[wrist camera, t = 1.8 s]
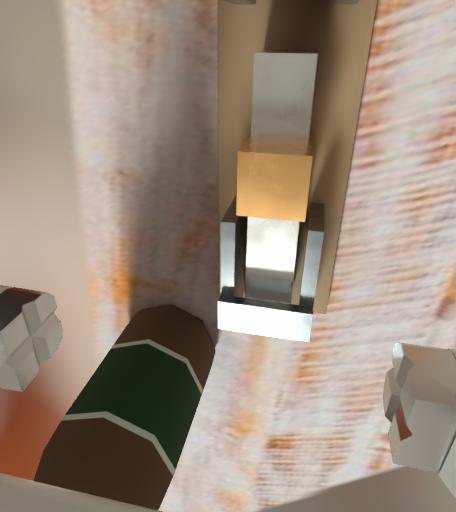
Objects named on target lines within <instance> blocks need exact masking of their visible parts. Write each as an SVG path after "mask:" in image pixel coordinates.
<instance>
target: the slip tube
mask: <svg viewBox="0 0 456 512" xmlns="http://www.w3.org/2000/svg"><path fill="white" fill-rule="evenodd" d="M318 53H319V52H303V51H259V52H254V65H253V92H252V119H251V135H250V136H249V138H248V139H247V140H246V141H245V143H244V144H243V145H242V147H241V148H240V149H239V150H238V161H237V207H236V216H247V217H248V226H247V253H246V280H245V298H250V299H257V300H264V301H272V302H279V303H287V304H291V299H292V291H293V283H294V274H295V265H296V256H297V246H298V237H299V228H300V222H305V219H306V210H307V202H308V193H309V184H310V176H311V167H312V158H313V150H314V141H315V135H314V134H310V127H311V117H312V108H313V99H314V90H315V81H316V71H317V62H318Z"/></svg>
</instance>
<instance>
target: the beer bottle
mask: <svg viewBox="0 0 456 512" xmlns="http://www.w3.org/2000/svg"><path fill="white" fill-rule="evenodd" d="M214 355H215V348H214V345H213V343H212V341H211V339H210V337H209V334H208V332H207V330H206V328H205V326H204V324H203V321H202V320H200V319H198V318H196V317H194V316H192V315H190V314H188V313H186V312H184V311H182V310H180V309H178V308H176V307H174V306H172V305H168V306H163V307H157V308H152V309H146V310H141V311H139V312H138V313H137V314H136V315H135V316H134V317H133V319H132V320H131V321H130V322H129V324H128V325H127V326H126V328H125V329H124V331H123V332H122V334H121V335H120V336H119V338H118V339H117V341H116V342H115V344H114V345H113V347H112V348H111V349H110V351H109V352H108V354H107V355H106V357H105V358H104V360H103V361H102V362H101V364H100V365H99V367H98V368H97V370H96V371H95V373H94V374H93V375H92V377H91V378H90V380H89V381H88V383H87V384H86V386H85V387H84V389H83V390H82V391H81V393H80V394H79V396H78V397H77V399H76V400H75V401H74V403H73V404H72V406H71V407H70V409H69V410H68V412H67V413H66V414H65V416H64V417H63V419H62V420H61V422H60V424H59V425H58V427H57V429H56V430H55V432H54V434H53V435H52V437H51V439H50V441H49V442H48V444H47V446H46V447H45V449H44V451H43V454H42V457H41V460H40V463H39V466H38V469H37V472H36V474H35V478H34V481H35V482H39V483H44V484H48V485H52V486H56V487H61V488H65V489H69V490H73V491H77V492H82V493H86V494H90V495H94V496H99V497H103V498H107V499H111V500H116V501H120V502H124V503H128V504H133V505H137V506H141V507H145V508H149V509H154V510H158V509H159V508H160V505H161V503H162V501H163V498H164V496H165V494H166V492H167V489H168V487H169V485H170V482H171V480H172V478H173V475H174V472H175V470H176V467H177V464H178V461H179V458H180V455H181V452H182V449H183V447H184V444H185V441H186V438H187V435H188V432H189V429H190V427H191V424H192V421H193V418H194V415H195V412H196V409H197V406H198V404H199V401H200V398H201V395H202V392H203V389H204V386H205V384H206V381H207V378H208V375H209V372H210V369H211V366H212V362H213V359H214Z"/></svg>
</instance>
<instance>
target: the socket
mask: <svg viewBox="0 0 456 512" xmlns="http://www.w3.org/2000/svg"><path fill="white" fill-rule="evenodd" d="M224 1H226V2H229V3H232V4H235V5H255V0H224ZM359 1H360V0H335V4H357V3H358V2H359Z"/></svg>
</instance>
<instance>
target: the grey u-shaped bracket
mask: <svg viewBox="0 0 456 512" xmlns="http://www.w3.org/2000/svg"><path fill="white" fill-rule="evenodd" d="M236 207H237V196H235V198H234V199H233V201H232V203H231V205H230V206H229V208H228V210H227V212H226V213H225V215H224V217H223V218H222V220H221V295H220V297H219V300H218V329H224V330H231V331H237V332H244V333H251V334H257V335H264V336H270V337H277V338H284V339H290V340H297V341H304V342H309V339H310V332H311V325H312V318H313V306H314V299H315V292H316V285H317V278H318V271H319V264H320V257H321V250H322V243H323V236H324V204H322V203H311V205H310V214H309V222H308V230H307V239H306V247H305V255H304V264H303V272H302V281H301V289H300V297H299V305H294V304H287V303H279V302H272V301H264V300H257V299H250V298H243V295H244V292H245V271H246V244H247V216H236Z"/></svg>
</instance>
